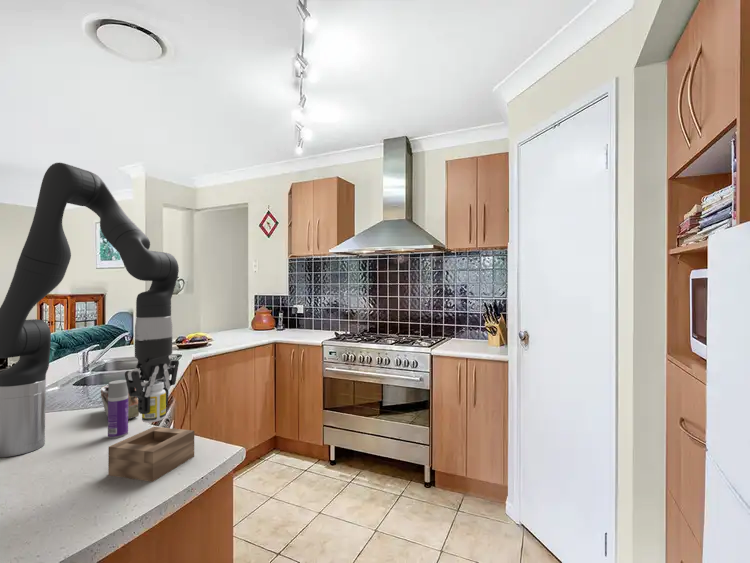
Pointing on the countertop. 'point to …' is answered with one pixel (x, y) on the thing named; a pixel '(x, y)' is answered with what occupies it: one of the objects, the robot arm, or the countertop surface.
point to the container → (117, 409)
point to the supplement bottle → (156, 403)
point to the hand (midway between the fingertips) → (153, 409)
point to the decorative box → (131, 403)
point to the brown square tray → (150, 453)
